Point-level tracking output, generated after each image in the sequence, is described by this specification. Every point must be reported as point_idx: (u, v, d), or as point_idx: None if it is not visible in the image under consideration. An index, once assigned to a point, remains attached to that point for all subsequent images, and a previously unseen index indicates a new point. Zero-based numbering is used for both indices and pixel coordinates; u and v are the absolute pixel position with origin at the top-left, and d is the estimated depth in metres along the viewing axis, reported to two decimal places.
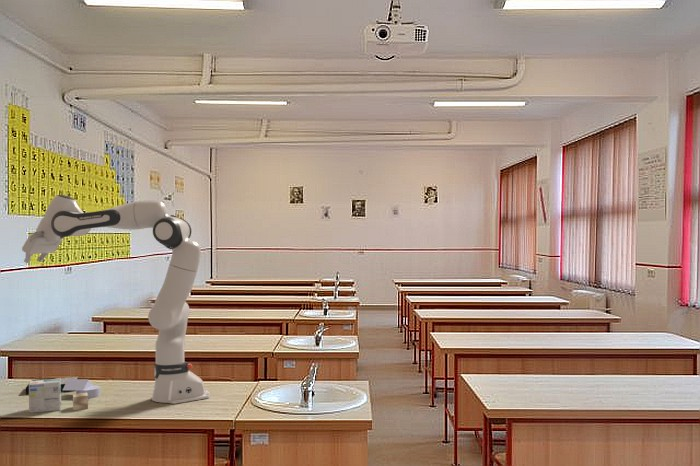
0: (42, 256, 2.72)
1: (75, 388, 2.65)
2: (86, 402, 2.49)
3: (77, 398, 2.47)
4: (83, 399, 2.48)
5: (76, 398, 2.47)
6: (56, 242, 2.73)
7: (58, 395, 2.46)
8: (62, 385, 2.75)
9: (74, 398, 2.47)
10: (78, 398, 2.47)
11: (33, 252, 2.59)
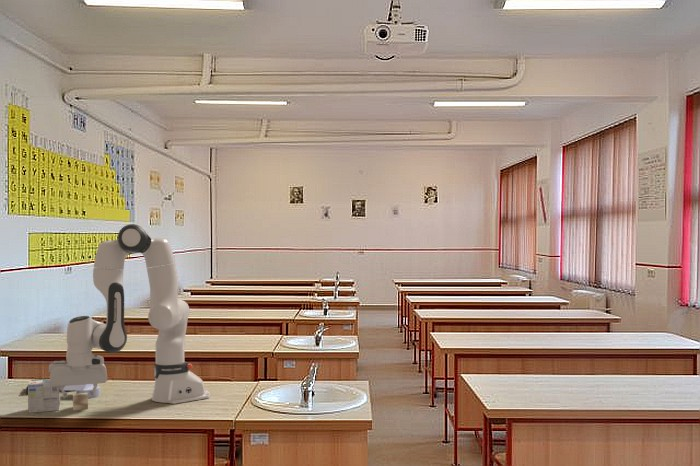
0: (92, 389, 2.53)
1: (75, 388, 2.65)
2: (86, 402, 2.49)
3: (77, 398, 2.47)
4: (83, 399, 2.48)
5: (76, 398, 2.47)
6: (98, 370, 2.52)
7: (57, 395, 2.46)
8: None
9: (74, 398, 2.47)
10: (78, 398, 2.47)
11: (58, 384, 2.46)
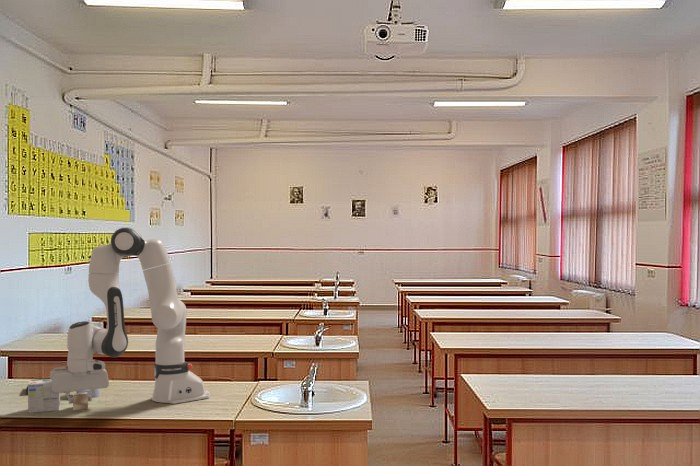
0: (90, 395, 2.51)
1: None
2: (86, 402, 2.49)
3: (77, 398, 2.47)
4: (83, 398, 2.48)
5: (76, 398, 2.47)
6: (100, 375, 2.51)
7: (57, 395, 2.46)
8: None
9: (74, 398, 2.47)
10: (78, 398, 2.47)
11: (60, 390, 2.45)
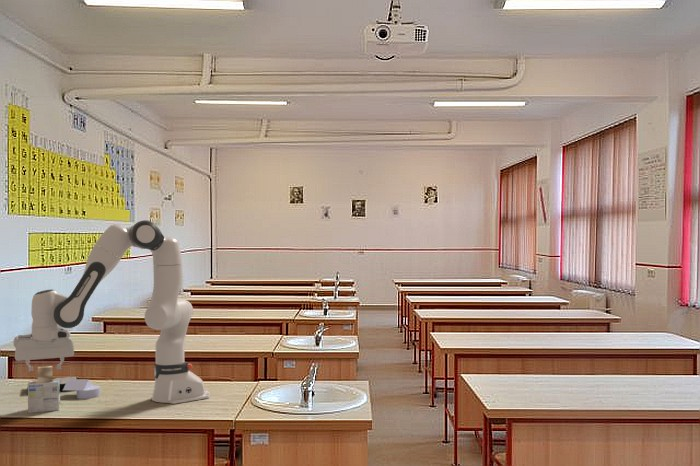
0: (59, 363, 2.50)
1: (75, 388, 2.65)
2: (51, 375, 2.46)
3: (41, 370, 2.45)
4: (47, 371, 2.46)
5: (40, 370, 2.45)
6: (65, 344, 2.49)
7: (57, 395, 2.47)
8: (64, 385, 2.76)
9: (38, 370, 2.45)
10: (42, 371, 2.45)
11: (23, 358, 2.43)
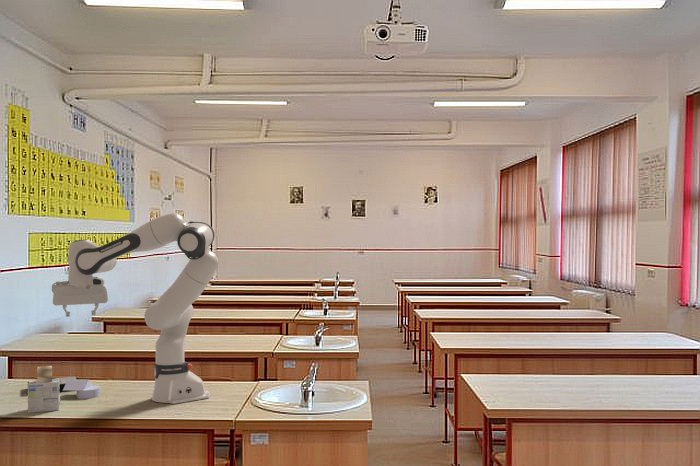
0: (94, 309, 2.64)
1: (75, 388, 2.65)
2: (50, 375, 2.46)
3: (41, 370, 2.45)
4: (47, 371, 2.46)
5: (40, 370, 2.45)
6: (99, 291, 2.63)
7: (57, 395, 2.46)
8: (65, 384, 2.76)
9: (38, 370, 2.45)
10: (42, 370, 2.45)
11: (61, 303, 2.58)
